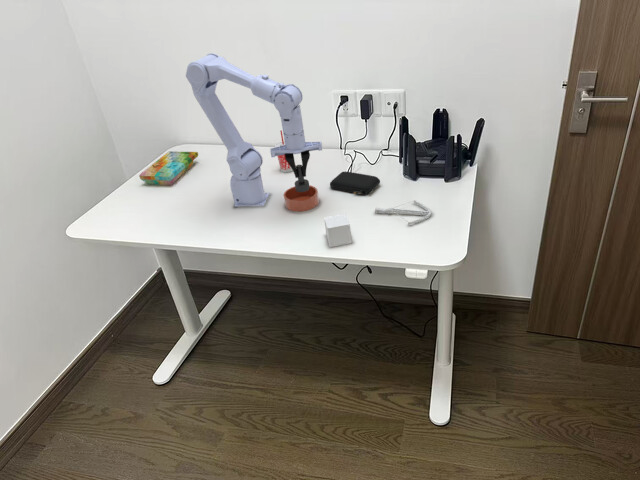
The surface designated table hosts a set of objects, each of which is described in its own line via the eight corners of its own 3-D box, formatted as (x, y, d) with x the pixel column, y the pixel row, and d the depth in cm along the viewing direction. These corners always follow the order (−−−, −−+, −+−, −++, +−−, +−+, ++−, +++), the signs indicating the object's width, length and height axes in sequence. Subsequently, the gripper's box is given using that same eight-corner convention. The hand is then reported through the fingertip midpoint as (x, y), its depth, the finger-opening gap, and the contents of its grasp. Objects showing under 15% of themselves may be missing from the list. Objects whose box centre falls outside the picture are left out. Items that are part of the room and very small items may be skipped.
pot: (282, 213, 162) (280, 201, 160) (289, 196, 170) (287, 185, 168) (316, 212, 161) (314, 200, 158) (321, 196, 169) (320, 184, 167)
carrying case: (326, 191, 171) (367, 199, 165) (324, 183, 169) (366, 190, 163) (342, 177, 179) (382, 184, 172) (341, 168, 177) (382, 175, 170)
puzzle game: (138, 173, 183) (168, 148, 198) (142, 185, 186) (171, 160, 201) (169, 174, 180) (197, 149, 196) (172, 187, 183) (200, 161, 198)
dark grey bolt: (294, 192, 159) (290, 169, 155) (297, 185, 163) (293, 162, 158) (308, 192, 159) (304, 168, 154) (310, 185, 162) (307, 162, 158)
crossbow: (432, 206, 160) (433, 200, 159) (428, 229, 150) (428, 222, 149) (379, 201, 163) (379, 195, 161) (371, 223, 153) (371, 217, 151)
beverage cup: (286, 164, 190) (280, 126, 182) (300, 167, 187) (294, 128, 179) (275, 171, 187) (267, 132, 178) (288, 174, 183) (281, 135, 175)
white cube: (326, 236, 150) (323, 217, 146) (347, 232, 151) (345, 213, 147) (330, 247, 145) (327, 228, 142) (351, 243, 146) (349, 224, 142)
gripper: (267, 140, 146) (276, 185, 154) (320, 133, 148) (326, 178, 156) (267, 131, 152) (275, 174, 160) (318, 123, 153) (323, 167, 161)
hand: (300, 175), depth 158 cm, fingers closed on dark grey bolt, 2 cm apart
